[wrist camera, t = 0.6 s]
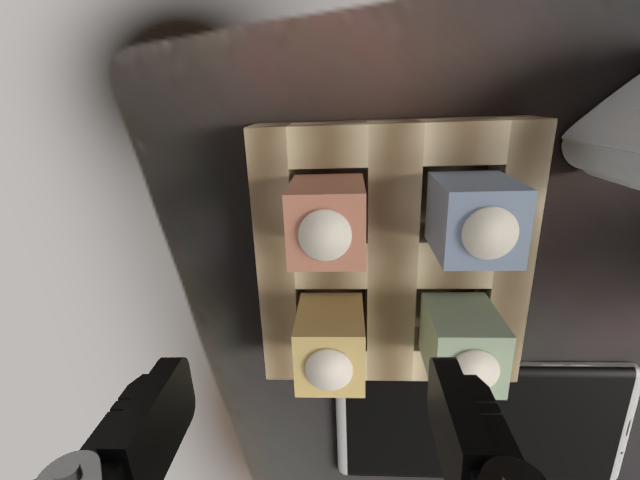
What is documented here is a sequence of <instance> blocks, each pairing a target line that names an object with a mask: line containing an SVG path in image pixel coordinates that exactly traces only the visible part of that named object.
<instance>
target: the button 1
mask: <svg viewBox="0 0 640 480" xmlns="http://www.w3.org/2000/svg"><path fill="white" fill-rule="evenodd" d="M282 202H283V218H284V233H285V249H286V264H287V272H366V189H365V184H364V179H363V175H362V173H346V174H300V175H294V177H293V178H292V180H291V181H290V183H289V185H288V186H287V188H286V190H285V191H284V193H283V195H282Z"/></svg>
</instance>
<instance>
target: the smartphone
mask: <svg viewBox="0 0 640 480" xmlns="http://www.w3.org/2000/svg"><path fill="white" fill-rule="evenodd" d="M427 395H428V381H367V380H365V398H336V423H337V451H338V469H339V471H340V472H341V473H342V474H344V475H358V476H394V477H430V478H443V474H442V470H441V466H440V462H439V458H438V454H437V450H436V446H435V442H434V438H433V434H432V430H431V426H430V422H429V416H428V406H427ZM639 396H640V368H639V367H638V366H637V365H636V364H634V363H631V362H520V367H519V373H518V380H517V382H510V385H509V392H508V399H507V400H496V403H497V404H498V406H499V408H500V410H501V412H502V415H503V416H504V418H505V421H506V423H507V425H508V427H509V429H510V431H511V433H512V435H513V437H514V439H515V441H516V443H517V445H518V447H519V450H520V452H521V454H522V456H523V458H524V460H525V461H526V462H528V463H530V464H531V465H533V466H534V467H535V468H537V469H538V470H539V471H540V472H541V473H542V474H543V475H544V477H545V478H546V479H547V480H616V479H617V478H618V475H619V471H620V467H621V464H622V460H623V456H624V452H625V449H626V445H627V441H628V437H629V433H630V430H631V426H632V422H633V418H634V415H635V411H636V407H637V403H638V399H639Z"/></svg>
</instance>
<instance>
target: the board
mask: <svg viewBox="0 0 640 480" xmlns="http://www.w3.org/2000/svg"><path fill="white" fill-rule="evenodd" d="M557 121H558V119H556V118H548V117H540V116H532V115H511V116H477V117H443V118H410V119H376V120H342V121H309V122H275V123H256V124H253V125H250V126H247V127H245V128H244V139H245V150H246V161H247V172H248V183H249V194H250V205H251V216H252V226H253V237H254V248H255V259H256V270H257V281H258V292H259V303H260V314H261V325H262V336H263V347H264V358H265V369H266V379H277V380H294V373H293V357H292V342H291V336H292V331H293V326H294V322H295V317H296V313H297V308H298V304H299V299H300V295H301V293H362V299H363V311H364V323H365V336H366V362H365V380H367V381H428V377H427V373H426V370H425V366H424V363H423V359H422V356H421V352H420V349H419V327H420V309H421V292H485V293H486V295H487V296H488V298H489V299H490V300H491V302H492V303H493V305H494V306H495V308H496V309H497V311H498V312H499V313H500V315H501V316H502V318H503V319H504V321H505V322H506V324H507V325H508V326H509V328H510V329H511V331H512V332H513V334H514V335H515V336H516V345H515V351H514V358H513V365H512V372H511V379H510V382H517V380H518V373H519V367H520V360H521V354H522V347H523V341H524V334H525V328H526V321H527V315H528V308H529V302H530V295H531V289H532V282H533V276H534V269H535V263H536V257H537V250H538V244H539V237H540V231H541V224H542V218H543V211H544V205H545V198H546V192H547V185H548V179H549V172H550V166H551V159H552V153H553V146H554V140H555V134H556V127H557ZM487 170H499V171H501V172H503V173H505V174H507V175H509V176H511V177H513V178H515V179H517V180H519V181H521V182H522V183H524V184H526V185H528V186H530V187H532V188H534V189H536V190H538V195H537V202H536V209H535V216H534V223H533V229H532V236H531V243H530V250H529V256H528V263H527V270H526V271H443V269H442V268H441V266H440V264H439V262H438V260H437V258H436V257H435V255H434V253H433V251H432V249H431V247H430V246H429V244H428V242H427V240H426V238H425V219H426V202H427V184H428V172H440V171H487ZM346 173H362V175H363V179H364V184H365V189H366V272H287V264H286V249H285V233H284V218H283V202H282V195H283V193H284V191H285V190H286V188H287V186H288V185H289V183H290V181H291V180H292V178H293V177H294V175H300V174H346Z"/></svg>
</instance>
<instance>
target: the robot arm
mask: <svg viewBox="0 0 640 480" xmlns="http://www.w3.org/2000/svg"><path fill="white" fill-rule="evenodd" d="M427 406H428V416H429V422H430V426H431V430H432V434H433V438H434V442H435V446H436V450H437V454H438V458H439V462H440V466H441V470H442V474H443V478H444V480H547V479H546V478H545V477H544V475H543V474H542V473H541V472H540V471H539V470H538V469H537V468H535V467H534V466H533V465H531V464H530V463H528V462H526V461H525V460H524V458H523V456H522V454H521V452H520V450H519V447H518V445H517V443H516V441H515V439H514V437H513V435H512V433H511V431H510V429H509V427H508V425H507V423H506V421H505V418H504V416H503V415H502V412H501V410H500V408H499V406H498V404H497V403H496V400H495V398H494V396H493V394H492V391H491V389H490V387H489V386H488V385H487V384H486V383H485V382H483V381H482V380H481V379H480V378H479V377H478V376H477V375H464V374H463V372H462V370H461V367H460V365H459V362H458V360H457V358H456V357H430V360H429V374H428V395H427ZM194 410H195V394H194V389H193V384H192V378H191V372H190V367H189V362H188V360H187V358H183V357H182V358H180V357H178V358H160V359H159V360H158V361H157V363H156V364H155V366H154V367H153V369H152V370H151V371H150V373H149V374H142V375H141V376H140V377H139V378H137V379H136V380H134V381H133V382H132V383H130V384H129V385H128V386H127V387H126V389H125V390H124V391H123V393H122V394H121V395H120V397H119V398H118V401H116V402H115V403H114V405H113V406H112V407H111V409H110V412H108V413H107V414H106V415H105V417H104V418H103V420H102V421H101V422H100V423H99V425H98V426H97V427H96V429H95V430H94V431H93V433H92V434H91V435H90V437H89V438H88V439H87V441H86V442H85V444H84V445H83V446H82V447H81V449H80V450H79V451H74V452H71V453H68V454H66V455H63V456H62V457H60V458H58V459H56V460H55V461H53V462H52V463H50V464H49V465H48V466H47V467H46V468H45V469H44V470H43V471H42V472H41V473H40V474H39V476H38V477H37V479H35V480H164V478H165V476H166V474H167V471H168V469H169V467H170V465H171V463H172V461H173V459H174V456H175V454H176V452H177V450H178V448H179V446H180V444H181V442H182V440H183V437H184V435H185V433H186V431H187V429H188V427H189V425H190V423H191V421H192V418H193V415H194Z"/></svg>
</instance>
